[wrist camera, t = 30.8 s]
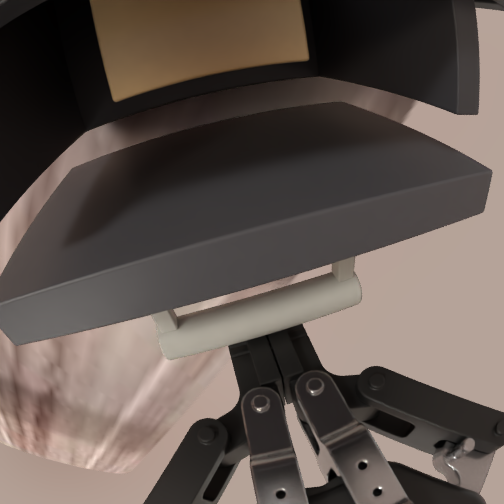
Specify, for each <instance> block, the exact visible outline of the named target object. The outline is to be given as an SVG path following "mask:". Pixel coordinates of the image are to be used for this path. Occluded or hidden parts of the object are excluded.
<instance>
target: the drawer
mask: <svg viewBox="0 0 504 504" xmlns="http://www.w3.org/2000/svg"><path fill="white" fill-rule="evenodd" d="M301 6H302V12H303V18H304V24H305V30H306V37H307V44H308V51H309V60H307V61H302V62H292V63H282V64H274V65H266V66H259V67H253V68H246V69H240V70H235V71H229V72H224V73H219V74H214V75H210V76H205V77H201V78H196V79H192V80H188V81H184V82H180V83H176V84H173V85H169V86H166V87H162V88H159V89H155V90H152V91H149V92H145V93H142V94H139V95H136V96H133V97H130V98H127V99H124V100H121V101H119V102H114V100H113V99H112V95H111V92H110V88H109V84H108V81H107V77H106V73H105V69H104V65H103V61H102V57H101V52H100V48H99V44H98V39H97V35H96V30H95V25H94V20H93V15H92V10H91V5H90V0H47V1H45V2H43V3H41V4H39V5H37V6H35V7H34V8H32V9H30V10H28V11H26V12H25V13H23V14H21V15H20V16H18V17H16V18H15V19H13V20H12V21H10V22H9V23H7V24H5V25H4V26H2V27H1V28H0V222H1V220H2V219H3V218H4V217H5V215H6V214H7V213H8V212H9V210H10V209H11V208H12V207H13V206H14V204H15V203H16V202H17V201H18V200H19V198H20V197H21V196H22V195H23V194H24V193H25V192H26V190H27V189H28V188H29V187H30V186H31V185H32V184H33V183H34V182H35V180H36V179H37V178H38V177H39V176H40V175H41V174H42V173H43V172H44V171H45V170H46V169H47V168H48V167H49V166H50V165H51V164H52V163H53V162H54V161H55V160H56V159H57V158H58V157H59V156H60V155H61V154H62V153H63V152H64V151H65V150H66V149H67V148H68V147H69V146H71V145H72V144H73V143H74V142H75V141H76V140H77V139H78V138H79V137H80V136H82V135H83V134H84V133H85V132H87V131H89V130H92V129H94V128H97V127H99V126H102V125H104V124H107V123H110V122H113V121H115V120H118V119H121V118H124V117H127V116H130V115H133V114H136V113H139V112H142V111H145V110H148V109H151V108H155V107H158V106H162V105H165V104H168V103H172V102H176V101H179V100H183V99H187V98H191V97H195V96H199V95H204V94H208V93H212V92H217V91H222V90H227V89H232V88H237V87H242V86H248V85H254V84H260V83H266V82H273V81H280V80H288V79H297V78H306V77H317V76H320V77H326V78H331V79H336V80H341V81H346V82H351V83H355V84H360V85H364V86H368V87H372V88H376V89H380V90H384V91H388V92H391V93H395V94H398V95H402V96H405V97H408V98H411V99H415V100H418V101H421V102H424V103H427V104H430V105H433V106H435V107H438V108H441V109H444V110H446V111H449V112H452V113H454V114H457V115H477V114H478V109H479V82H480V81H479V79H480V78H479V77H480V68H479V41H478V28H477V19H476V10H475V3H474V0H301ZM491 177H492V170H491V169H489V168H487V167H486V166H484V165H482V164H481V163H479V162H477V161H475V160H473V159H472V158H470V157H468V156H466V155H465V154H462V153H461V152H459V151H457V150H455V149H453V148H451V147H450V146H448V145H446V144H444V143H442V142H440V141H437V140H436V139H433V138H431V137H429V136H427V135H425V134H423V133H421V132H418V131H416V130H414V129H412V128H410V127H407V126H405V125H403V124H400V123H398V122H396V121H393V120H391V119H388V118H386V117H383V116H381V115H378V114H375V113H373V112H370V111H367V110H365V109H362V108H359V107H356V106H353V105H350V104H348V103H345V102H331V103H322V104H314V105H306V106H299V107H292V108H286V109H280V110H274V111H268V112H262V113H257V114H252V115H247V116H242V117H237V118H232V119H228V120H223V121H219V122H215V123H210V124H206V125H202V126H198V127H194V128H190V129H187V130H183V131H179V132H176V133H172V134H169V135H165V136H162V137H159V138H155V139H152V140H149V141H146V142H142V143H139V144H136V145H133V146H130V147H127V148H124V149H121V150H119V151H116V152H113V153H110V154H107V155H105V156H102V157H99V158H97V159H94V160H92V161H89V162H86V163H84V164H81V165H79V166H76V167H74V168H72V169H71V170H70V172H69V173H68V174H67V175H66V177H65V178H64V179H63V181H62V182H61V183H60V184H59V186H58V187H57V188H56V190H55V191H54V192H53V194H52V195H51V196H50V198H49V199H48V201H47V202H46V203H45V205H44V206H43V208H42V209H41V211H40V212H39V213H38V215H37V216H36V218H35V219H34V221H33V222H32V224H31V225H30V227H29V228H28V230H27V232H26V233H25V235H24V236H23V238H22V239H21V241H20V243H19V244H18V246H17V248H16V249H15V251H14V253H13V255H12V256H11V258H10V260H9V261H8V263H7V265H6V267H5V269H4V271H3V272H2V274H1V276H0V329H1V330H2V331H3V332H4V333H5V335H6V336H7V337H8V338H9V339H10V340H11V341H12V342H13V343H14V345H17V346H18V345H23V344H28V343H32V342H37V341H42V340H46V339H51V338H55V337H60V336H64V335H69V334H73V333H78V332H82V331H86V330H91V329H95V328H99V327H103V326H107V325H111V324H116V323H120V322H124V321H128V320H132V319H136V318H140V317H144V316H148V315H151V316H152V318H153V319H154V321H155V323H156V325H157V338H158V342H159V345H160V348H161V350H162V352H163V354H164V356H165V357H166V358H167V359H168V360H173V359H178V358H182V357H186V356H190V355H194V354H198V353H202V352H206V351H210V350H214V349H218V348H222V347H225V346H229V345H233V344H236V343H240V342H243V341H247V340H250V339H254V338H257V337H261V336H264V335H267V334H271V333H274V332H277V331H281V330H284V329H287V328H290V327H293V326H296V325H299V324H302V323H305V322H308V321H312V320H315V319H317V318H320V317H323V316H326V315H329V314H332V313H335V312H338V311H341V310H343V309H346V308H349V307H352V306H354V305H357V304H359V303H360V301H361V299H362V291H361V285H360V282H359V280H358V277H357V275H356V274H355V272H354V263H355V256H357V255H360V254H363V253H366V252H370V251H373V250H376V249H379V248H382V247H385V246H388V245H391V244H394V243H397V242H400V241H403V240H406V239H409V238H412V237H415V236H418V235H421V234H424V233H427V232H429V231H432V230H435V229H438V228H441V227H444V226H447V225H450V224H452V223H455V222H458V221H461V220H463V219H466V218H469V217H472V216H475V215H477V214H480V213H482V212H483V211H484V209H485V204H486V200H487V196H488V192H489V187H490V182H491ZM329 264H332V272H330V273H327V274H324V275H321V276H318V277H315V278H311V279H308V280H305V281H302V282H298V283H295V284H292V285H289V286H285V287H282V288H278V289H275V290H272V291H268V292H265V293H262V294H258V295H255V296H251V297H248V298H244V299H241V300H237V301H234V302H230V303H226V304H223V305H219V306H215V307H212V308H208V309H204V310H201V311H197V312H193V313H189V314H186V315H182V316H178V317H177V316H176V314H175V312H174V310H173V309H175V308H179V307H182V306H186V305H190V304H194V303H197V302H201V301H205V300H208V299H212V298H216V297H219V296H223V295H227V294H230V293H234V292H237V291H241V290H244V289H248V288H251V287H255V286H258V285H262V284H265V283H269V282H272V281H276V280H279V279H282V278H286V277H289V276H292V275H296V274H299V273H302V272H305V271H309V270H312V269H316V268H319V267H322V266H325V265H329Z"/></svg>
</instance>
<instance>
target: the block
mask: <svg viewBox="0 0 504 504" xmlns="http://www.w3.org/2000/svg"><path fill="white" fill-rule="evenodd" d="M90 5H91V10H92V15H93V20H94V25H95V30H96V35H97V39H98V44H99V48H100V52H101V57H102V61H103V65H104V69H105V73H106V77H107V81H108V84H109V88H110V92H111V95H112V99H113V100H114V102H119V101H121V100H124V99H127V98H130V97H133V96H136V95H139V94H142V93H145V92H149V91H152V90H155V89H159V88H162V87H166V86H169V85H173V84H176V83H180V82H184V81H188V80H192V79H196V78H201V77H205V76H210V75H214V74H219V73H224V72H229V71H235V70H240V69H246V68H253V67H259V66H266V65H274V64H282V63H292V62H302V61H307V60H309V51H308V44H307V37H306V30H305V24H304V18H303V12H302V6H301V0H90Z"/></svg>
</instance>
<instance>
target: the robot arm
mask: <svg viewBox="0 0 504 504" xmlns="http://www.w3.org/2000/svg"><path fill="white" fill-rule="evenodd" d="M228 347H229V351H230V355H231V359H232V363H233V367H234V371H235V375H236V379H237V382H238V386H239V391H240V397H239V401H238V403H237V404H236V406H235V407H234V408H233V409H232V410H231V411H230V412H228V413H227V414H225V415H224V416H222V417H220V418H218V419H216V420H215V419H211V418H205V419H201V420H199V421H197V422H196V423H194V424H193V425H192V426H191V428H190V429H189V431H188V432H187V434H186V436H185V438H184V439H183V441H182V442H181V444H180V446H179V447H178V449H177V451H176V452H175V454H174V456H173V457H172V459H171V461H170V462H169V464H168V466H167V467H166V469H165V470H164V472H163V474H162V475H161V477H160V479H159V480H158V481H157V483H156V485H155V486H154V488H153V490H152V491H151V493H150V494H149V496H148V498H147V499H146V500H145V502H144V504H217V503H218V501H219V499H220V497H221V496H222V494H223V492H224V490H225V489H226V487H227V485H228V483H229V481H230V479H231V478H232V476H233V474H234V472H235V470H236V468H237V466H238V464H239V462H240V461H241V460H242V459H243V458H245V457H247V456H248V455H250V469H251V475H252V480H253V484H254V490H255V494H256V499H257V504H486V502H485V500H484V499H483V497H482V496H481V495H480V492H481V489H482V487H483V484H484V482H485V479H486V477H487V474H488V471H489V468H490V465H491V463H492V460H493V457H494V454H495V451H496V450H497V449H499V448H500V447H502V446H503V445H504V412H501V411H498V410H495V409H492V408H489V407H486V406H483V405H480V404H477V403H475V402H471V401H469V400H466V399H463V398H460V397H458V396H455V395H452V394H450V393H447V392H444V391H442V390H439V389H437V388H434V387H431V386H429V385H426V384H423V383H421V382H418V381H416V380H413V379H411V378H408V377H406V376H403V375H401V374H398V373H396V372H394V371H391V370H388V369H386V368H383V367H380V366H373V367H369V368H367V369H365V370H364V371H362V373H361V374H360V375H349V376H338V375H334V374H332V373H330V372H328V371H327V370H325V368H324V367H323V366H322V364H321V362H320V360H319V358H318V356H317V354H316V352H315V350H314V347H313V345H312V343H311V341H310V339H309V337H308V336H307V333H306V331H305V329H304V327H303V324H299V325H296V326H293V327H290V328H287V329H284V330H281V331H277V332H274V333H271V334H267V335H264V336H261V337H257V338H254V339H250V340H247V341H243V342H240V343H236V344H233V345H229V346H228ZM284 397H285V399H284ZM285 400H286V402H287V404H289V403H293V404H294V407H295V410H296V412H297V419H298V421H299V423H300V425H301V427H302V429H303V432H304V433H305V436H306V438H307V440H308V442H309V444H310V446H311V448H312V450H313V452H314V454H315V457H316V459H317V463H318V466H319V468H320V470H321V472H322V474H323V476H324V478H325V480H326V482H327V483H326V484H325V485H323V486H320V487H312V488H305V487H304V483H303V480H302V476H301V472H300V468H299V465H298V461H297V457H296V454H295V451H294V448H293V444H292V440H291V437H290V433H289V429H288V425H287V421H286V416H285V409H284V405H285ZM368 429H369V430H372V431H374V432H376V433H379V434H381V435H383V436H386V437H388V438H390V439H393V440H395V441H398V442H400V443H403V444H405V445H408V446H411V447H413V448H416V449H419V450H421V451H423V452H426V453H429V454H432V455H433V465H434V468H435V469H436V470H437V471H438V472H440V473H442V474H443V475H444V476H445V477H446V478H447V481H448V482H446V481H443V480H440V479H438V478H435V477H432V476H430V475H427V474H425V473H422V472H420V471H417V470H415V469H413V468H410V467H408V466H405V465H403V464H400V463H397V462H390V461H387V460H386V459H385V457H384V456H383V454H382V452H381V450H380V449H379V447H378V445H377V443H376V442H375V440H374V438H373V437H372V435H371V433H370V431H369V430H368Z"/></svg>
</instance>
